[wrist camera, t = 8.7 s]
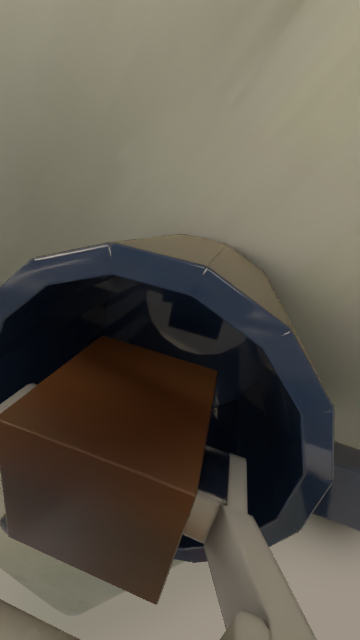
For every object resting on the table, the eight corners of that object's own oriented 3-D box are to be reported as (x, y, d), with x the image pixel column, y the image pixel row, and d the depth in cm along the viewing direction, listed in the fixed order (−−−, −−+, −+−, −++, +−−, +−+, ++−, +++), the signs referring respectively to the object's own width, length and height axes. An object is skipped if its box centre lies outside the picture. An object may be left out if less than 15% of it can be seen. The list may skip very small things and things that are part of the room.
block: (94, 422, 11) (7, 537, 7) (102, 334, 9) (-8, 418, 5) (190, 457, 10) (157, 606, 6) (218, 370, 9) (196, 496, 5)
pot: (287, 448, 17) (324, 635, 9) (61, 371, 19) (-61, 467, 12) (376, 278, 12) (605, 365, 5) (64, 205, 15) (-135, 180, 7)
